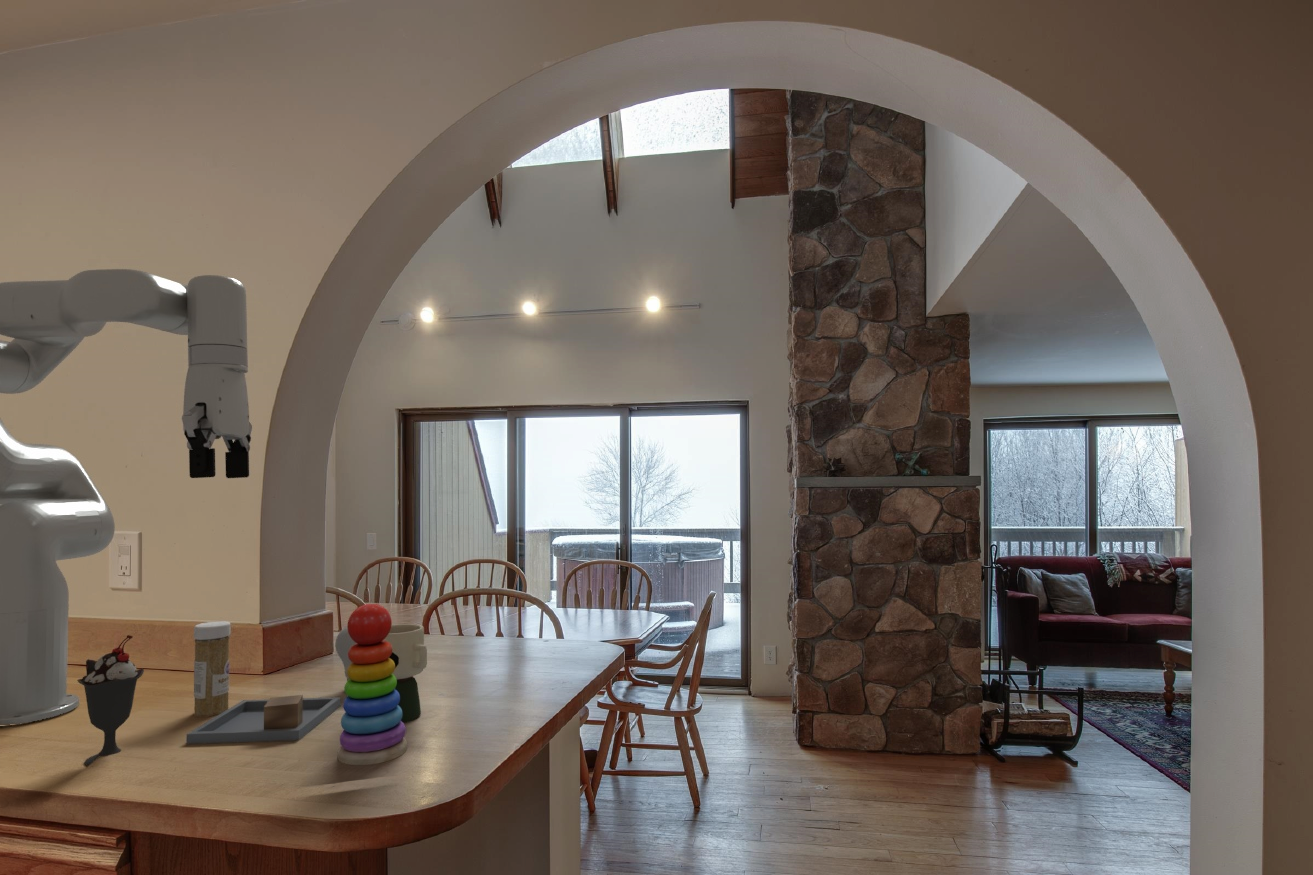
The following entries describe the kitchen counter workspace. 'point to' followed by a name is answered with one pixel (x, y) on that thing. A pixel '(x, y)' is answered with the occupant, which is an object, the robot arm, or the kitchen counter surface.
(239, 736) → the slate tray
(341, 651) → the lightbulb
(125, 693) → the sundae
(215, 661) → the sprinkles bottle
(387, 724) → the stacking toy
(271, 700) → the walnut block
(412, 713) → the character mug
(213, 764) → the kitchen counter surface
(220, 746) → the kitchen counter surface
